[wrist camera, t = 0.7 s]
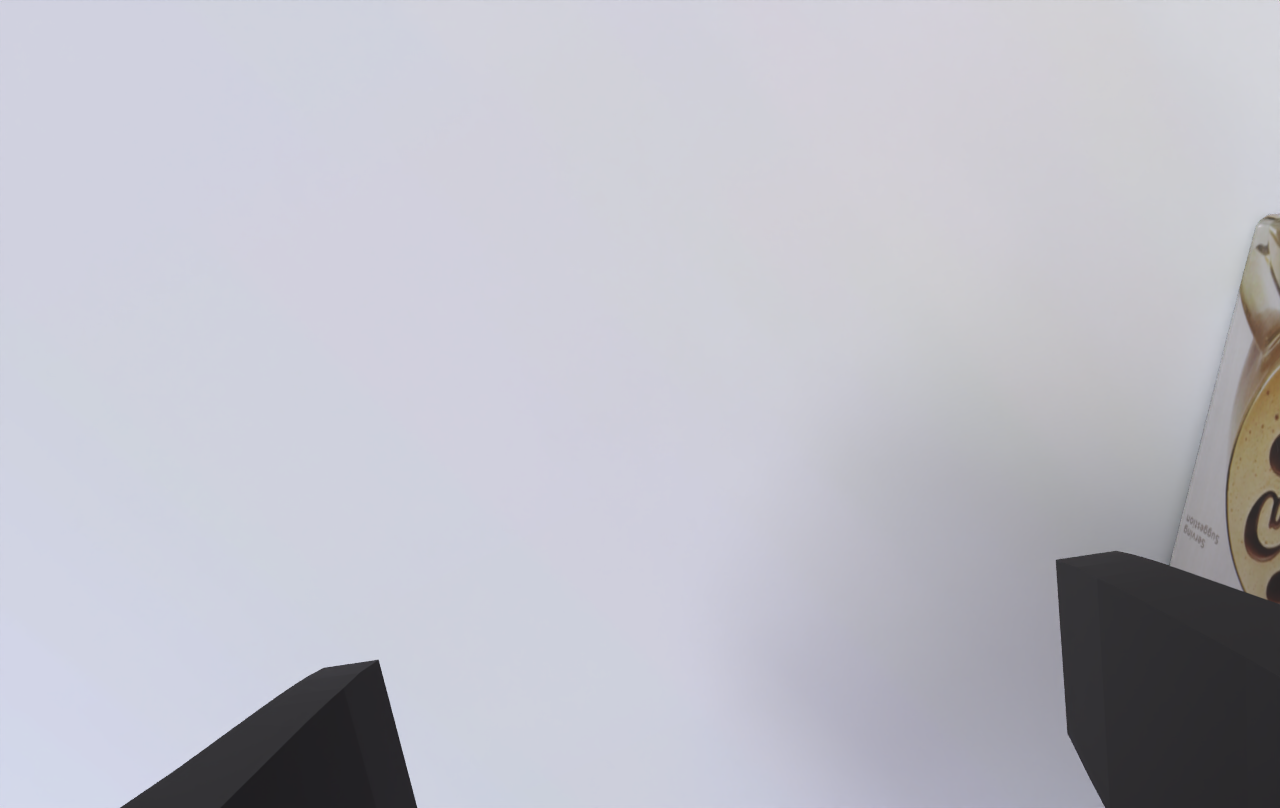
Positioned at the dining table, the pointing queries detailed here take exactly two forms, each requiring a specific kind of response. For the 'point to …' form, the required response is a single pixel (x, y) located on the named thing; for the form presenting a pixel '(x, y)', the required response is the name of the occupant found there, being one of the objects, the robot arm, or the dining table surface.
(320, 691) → the robot arm
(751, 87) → the dining table surface
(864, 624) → the dining table surface
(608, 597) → the dining table surface
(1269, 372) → the coffee box
